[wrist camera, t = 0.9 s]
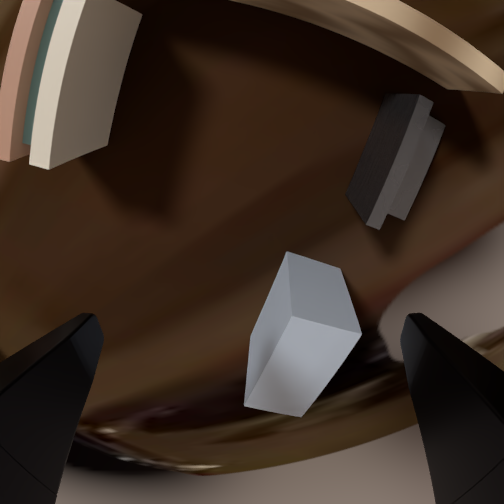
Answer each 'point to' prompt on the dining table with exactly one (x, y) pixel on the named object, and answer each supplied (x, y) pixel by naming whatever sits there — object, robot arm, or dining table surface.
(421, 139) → the bookend
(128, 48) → the book block
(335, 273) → the pale grey upright box
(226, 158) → the dining table surface
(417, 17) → the shelf back
